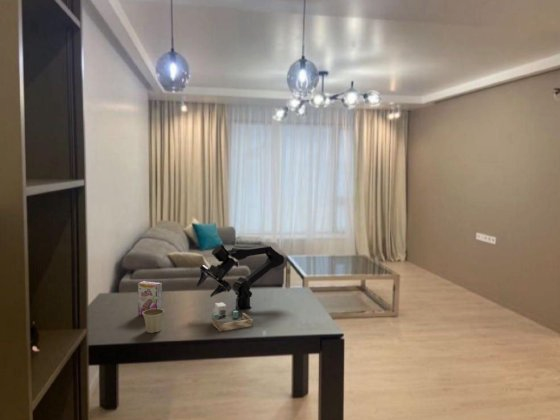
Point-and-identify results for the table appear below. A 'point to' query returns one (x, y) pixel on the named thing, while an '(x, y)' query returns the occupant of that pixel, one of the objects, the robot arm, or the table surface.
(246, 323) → the open wooden frame
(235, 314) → the teal block pair
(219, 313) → the block
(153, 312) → the flower pot
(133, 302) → the table surface
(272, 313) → the table surface
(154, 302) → the candy bar box
